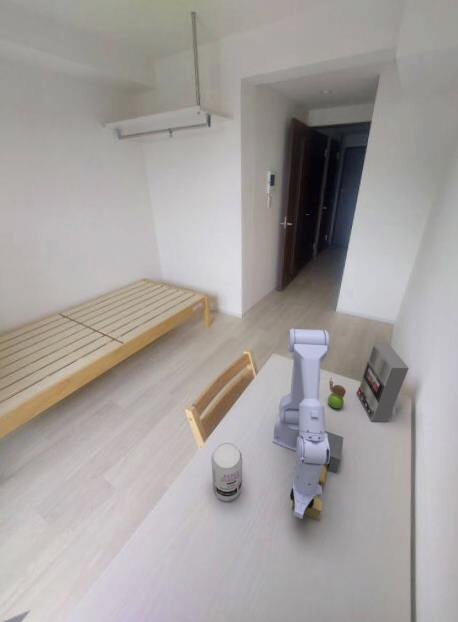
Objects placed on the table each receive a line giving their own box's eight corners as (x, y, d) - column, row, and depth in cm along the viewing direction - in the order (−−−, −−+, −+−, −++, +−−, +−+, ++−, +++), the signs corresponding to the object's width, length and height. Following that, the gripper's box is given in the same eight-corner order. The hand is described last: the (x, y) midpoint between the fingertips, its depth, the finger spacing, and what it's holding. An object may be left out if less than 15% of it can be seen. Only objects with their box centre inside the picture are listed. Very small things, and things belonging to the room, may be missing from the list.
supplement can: (227, 467, 83) (226, 435, 75) (247, 487, 77) (248, 455, 70) (207, 486, 78) (204, 454, 70) (227, 509, 72) (226, 477, 65)
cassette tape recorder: (355, 393, 108) (370, 342, 96) (371, 393, 108) (387, 342, 96) (370, 422, 96) (389, 368, 84) (387, 422, 96) (409, 368, 84)
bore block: (302, 460, 84) (305, 446, 81) (307, 439, 90) (310, 425, 87) (336, 474, 80) (340, 459, 77) (339, 451, 87) (343, 437, 83)
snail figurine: (327, 397, 107) (332, 373, 101) (343, 404, 103) (350, 380, 98) (322, 405, 103) (327, 382, 97) (339, 413, 100) (346, 389, 94)
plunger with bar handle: (291, 507, 72) (293, 497, 70) (303, 458, 84) (305, 447, 82) (318, 520, 70) (321, 510, 67) (326, 467, 82) (329, 457, 79)
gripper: (319, 511, 58) (311, 540, 64) (328, 453, 69) (320, 483, 76) (287, 496, 60) (282, 526, 67) (301, 443, 72) (295, 472, 78)
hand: (300, 502), depth 72 cm, fingers closed on plunger with bar handle, 2 cm apart
